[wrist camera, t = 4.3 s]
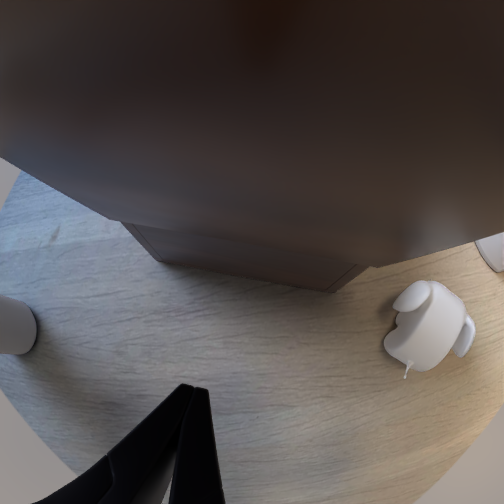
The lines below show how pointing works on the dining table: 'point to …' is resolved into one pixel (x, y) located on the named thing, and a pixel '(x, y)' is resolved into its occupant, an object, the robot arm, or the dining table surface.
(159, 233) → the box
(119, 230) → the dining table surface
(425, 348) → the elephant figurine
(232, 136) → the lid
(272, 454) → the dining table surface
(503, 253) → the eye dropper bottle
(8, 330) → the beverage can
